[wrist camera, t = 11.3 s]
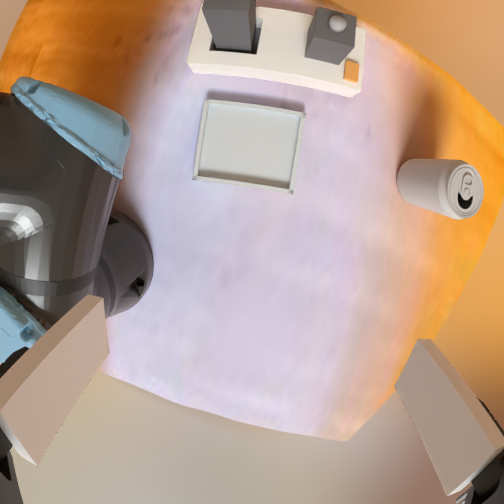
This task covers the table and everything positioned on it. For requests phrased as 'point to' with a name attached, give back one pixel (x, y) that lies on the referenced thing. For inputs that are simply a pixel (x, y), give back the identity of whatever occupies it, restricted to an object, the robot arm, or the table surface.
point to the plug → (231, 24)
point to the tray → (249, 145)
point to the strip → (290, 50)
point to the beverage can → (441, 186)
